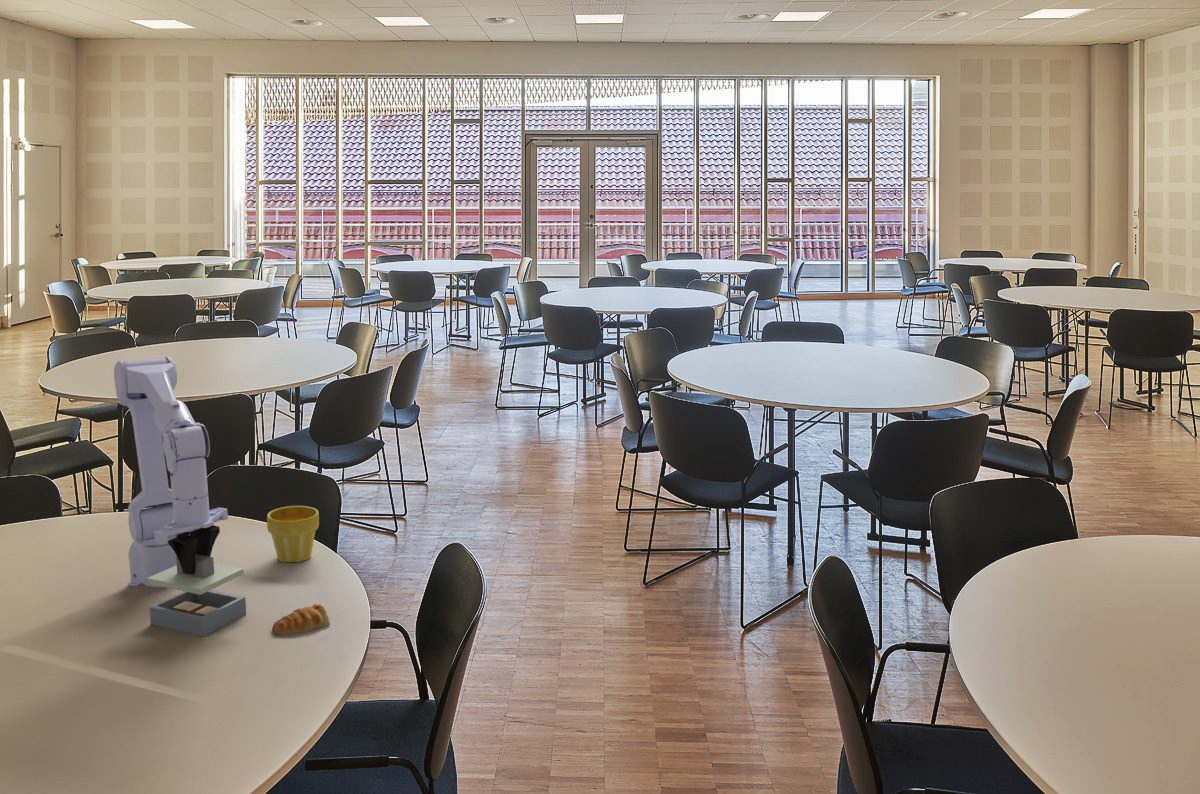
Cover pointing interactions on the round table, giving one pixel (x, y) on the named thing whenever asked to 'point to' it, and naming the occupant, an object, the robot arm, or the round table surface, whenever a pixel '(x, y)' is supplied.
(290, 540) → the plant pot
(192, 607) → the brick
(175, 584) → the lid
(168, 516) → the robot arm
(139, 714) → the round table surface
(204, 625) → the box
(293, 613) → the pastry
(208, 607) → the brick
